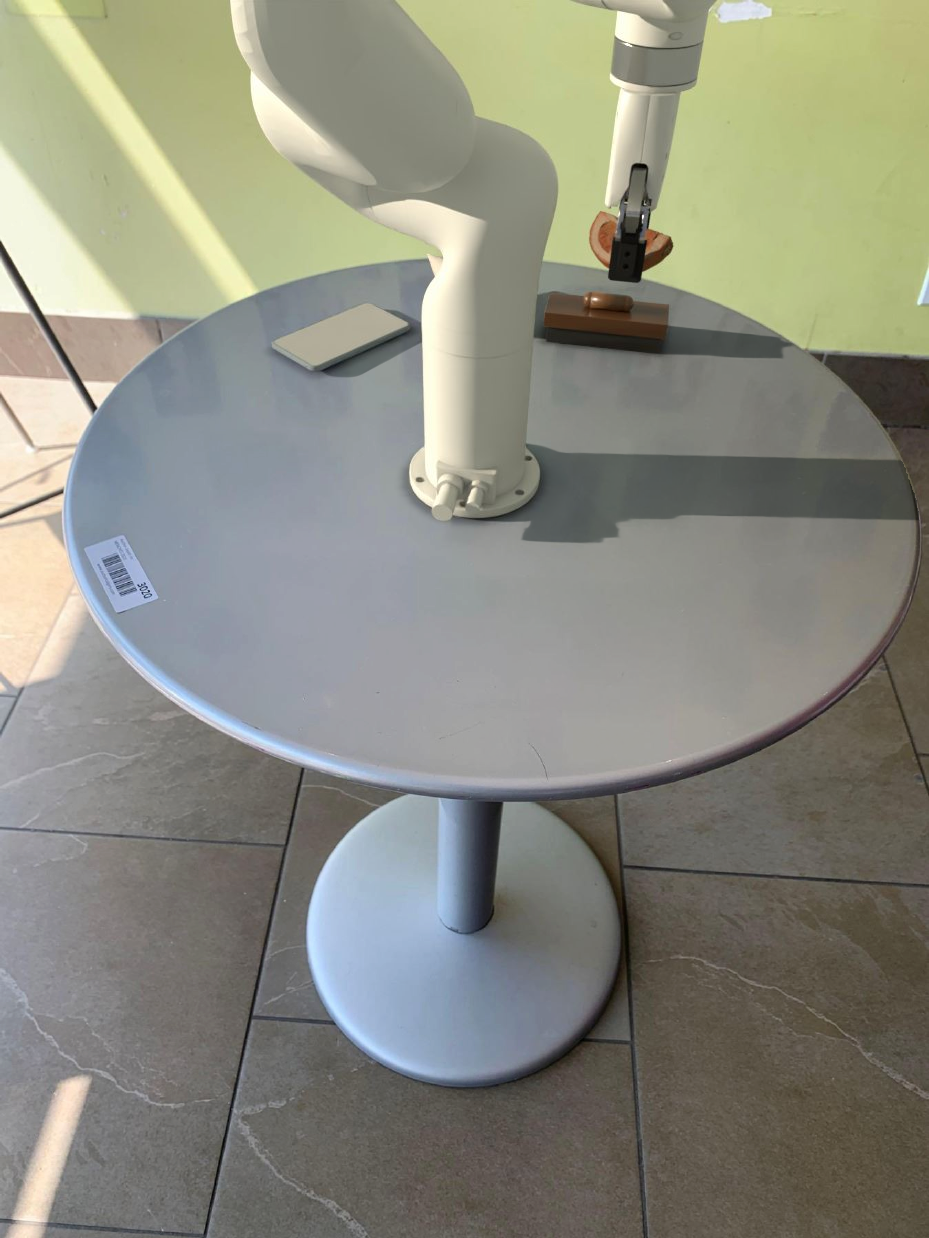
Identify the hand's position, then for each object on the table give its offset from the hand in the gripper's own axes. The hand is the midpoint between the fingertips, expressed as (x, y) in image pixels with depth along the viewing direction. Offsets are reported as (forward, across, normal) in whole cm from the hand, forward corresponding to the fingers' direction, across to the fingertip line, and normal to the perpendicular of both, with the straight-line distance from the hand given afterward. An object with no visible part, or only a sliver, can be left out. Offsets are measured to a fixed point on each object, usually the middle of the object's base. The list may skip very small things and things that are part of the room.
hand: (627, 261), depth 91 cm
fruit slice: (+1, 0, 0) cm, 1 cm away
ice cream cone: (+14, -12, -20) cm, 27 cm away
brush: (+14, -10, -2) cm, 17 cm away
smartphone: (+14, -2, -32) cm, 35 cm away
